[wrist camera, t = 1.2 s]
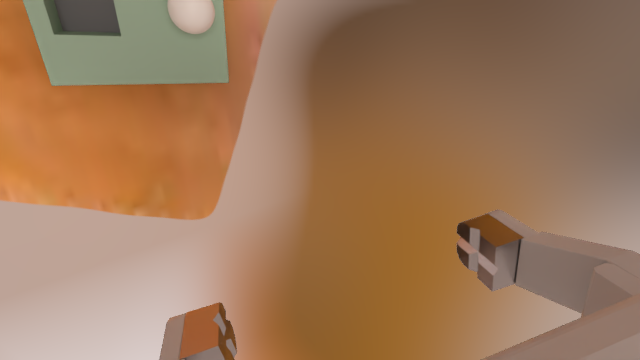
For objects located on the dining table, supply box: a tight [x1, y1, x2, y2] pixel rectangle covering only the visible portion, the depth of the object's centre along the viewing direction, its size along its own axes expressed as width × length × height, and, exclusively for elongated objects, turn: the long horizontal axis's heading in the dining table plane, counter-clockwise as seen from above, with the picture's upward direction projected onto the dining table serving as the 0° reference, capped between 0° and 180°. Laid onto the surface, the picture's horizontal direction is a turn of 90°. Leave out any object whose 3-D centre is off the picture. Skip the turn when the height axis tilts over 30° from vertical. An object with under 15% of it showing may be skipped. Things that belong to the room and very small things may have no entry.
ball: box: [167, 0, 215, 34], centre depth 29 cm, size 4×4×4 cm
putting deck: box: [23, 0, 229, 86], centre depth 30 cm, size 14×16×3 cm
